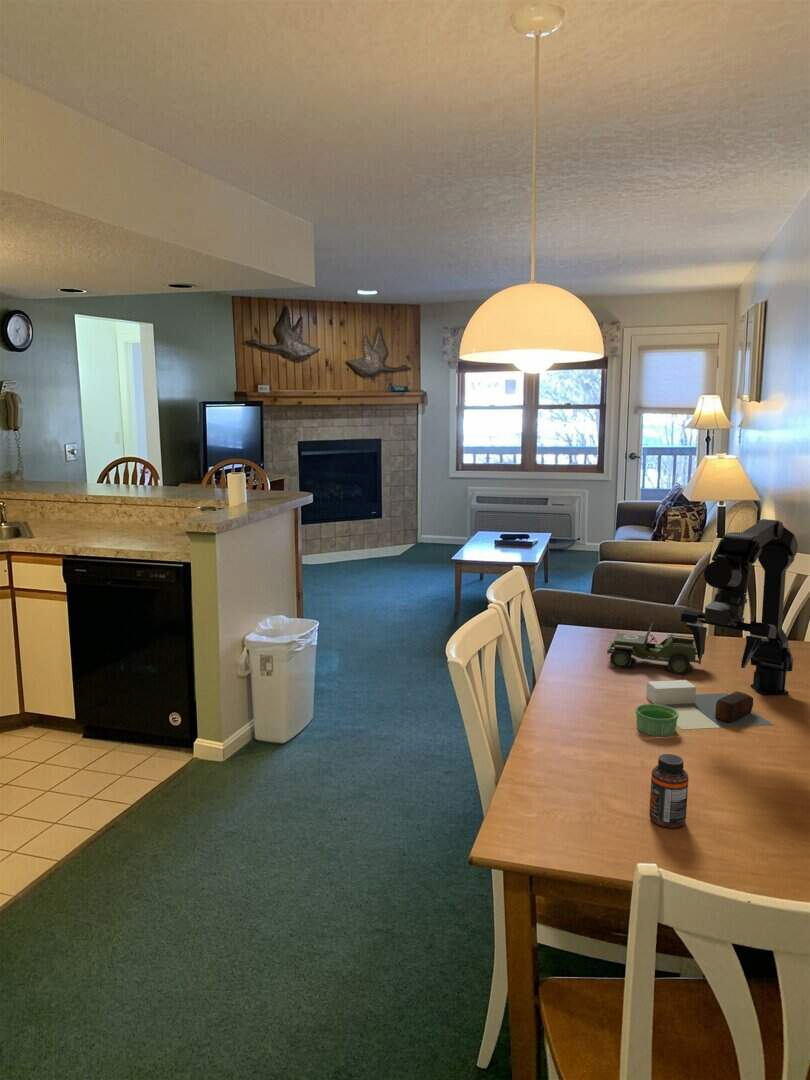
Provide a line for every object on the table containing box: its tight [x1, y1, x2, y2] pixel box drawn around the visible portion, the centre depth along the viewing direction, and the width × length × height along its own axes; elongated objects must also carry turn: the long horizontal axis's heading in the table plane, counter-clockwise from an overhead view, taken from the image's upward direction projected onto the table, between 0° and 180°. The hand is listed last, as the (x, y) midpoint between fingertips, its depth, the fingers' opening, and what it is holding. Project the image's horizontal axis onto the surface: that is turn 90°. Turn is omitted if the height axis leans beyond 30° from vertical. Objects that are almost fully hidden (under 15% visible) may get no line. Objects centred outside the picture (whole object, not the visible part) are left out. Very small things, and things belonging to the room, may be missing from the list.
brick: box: [715, 690, 754, 723], centre depth 178 cm, size 11×4×5 cm, turn 132°
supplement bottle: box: [648, 753, 689, 829], centre depth 132 cm, size 6×6×11 cm
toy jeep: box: [606, 622, 706, 676], centre depth 214 cm, size 12×25×11 cm, turn 69°
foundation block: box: [645, 679, 697, 705], centre depth 188 cm, size 10×5×4 cm, turn 97°
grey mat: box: [646, 692, 774, 730], centre depth 182 cm, size 22×20×1 cm
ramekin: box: [635, 703, 679, 738], centre depth 171 cm, size 9×9×4 cm
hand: (720, 663), depth 168 cm, fingers open, 9 cm apart
